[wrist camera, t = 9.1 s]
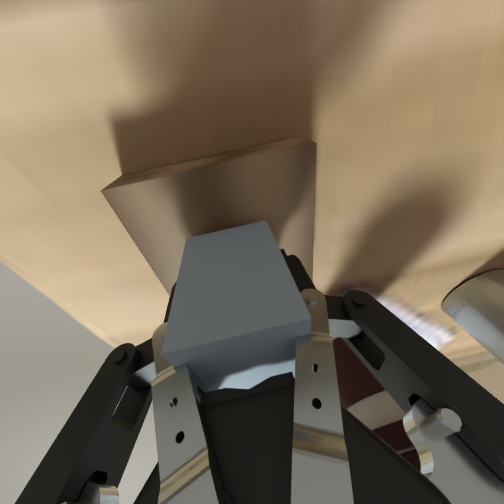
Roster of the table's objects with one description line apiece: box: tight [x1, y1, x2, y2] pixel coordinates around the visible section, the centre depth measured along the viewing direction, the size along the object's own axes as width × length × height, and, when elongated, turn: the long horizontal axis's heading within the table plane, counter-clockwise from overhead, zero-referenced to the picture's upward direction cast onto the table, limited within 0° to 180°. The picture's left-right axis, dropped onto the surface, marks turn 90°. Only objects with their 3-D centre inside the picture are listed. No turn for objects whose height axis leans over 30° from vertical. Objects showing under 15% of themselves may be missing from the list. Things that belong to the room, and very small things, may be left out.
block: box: [161, 220, 311, 391], centre depth 11 cm, size 5×5×7 cm
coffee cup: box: [330, 336, 421, 472], centre depth 21 cm, size 10×10×15 cm
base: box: [101, 137, 316, 296], centre depth 15 cm, size 12×12×3 cm
